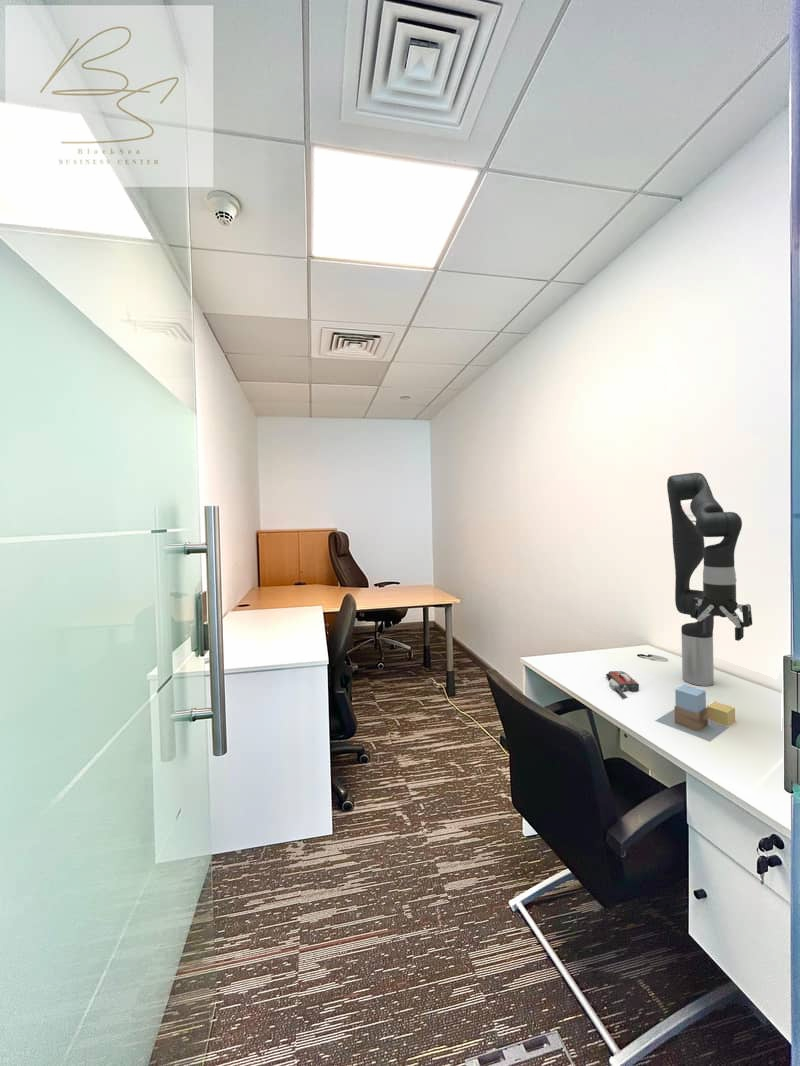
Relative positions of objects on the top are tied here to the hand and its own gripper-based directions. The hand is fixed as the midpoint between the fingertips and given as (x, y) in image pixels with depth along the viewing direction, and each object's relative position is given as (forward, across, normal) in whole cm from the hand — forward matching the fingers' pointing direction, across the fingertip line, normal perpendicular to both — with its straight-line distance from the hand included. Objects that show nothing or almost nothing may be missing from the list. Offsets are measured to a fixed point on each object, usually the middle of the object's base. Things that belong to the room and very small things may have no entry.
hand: (720, 636), depth 119 cm
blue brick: (+20, -4, -9) cm, 22 cm away
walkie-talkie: (+26, -30, +1) cm, 40 cm away
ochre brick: (+26, 0, 0) cm, 26 cm away
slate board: (+26, -4, -9) cm, 28 cm away
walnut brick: (+25, -4, -9) cm, 27 cm away
